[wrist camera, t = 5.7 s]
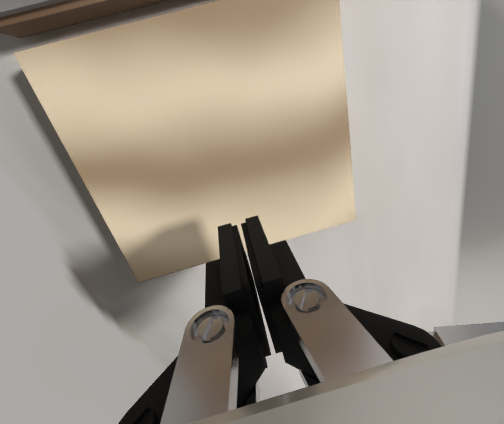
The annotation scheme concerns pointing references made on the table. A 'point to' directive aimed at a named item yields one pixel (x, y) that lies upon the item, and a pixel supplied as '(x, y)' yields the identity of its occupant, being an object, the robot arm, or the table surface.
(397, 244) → the table surface
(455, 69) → the table surface
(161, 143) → the oak plank
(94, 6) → the walnut board
